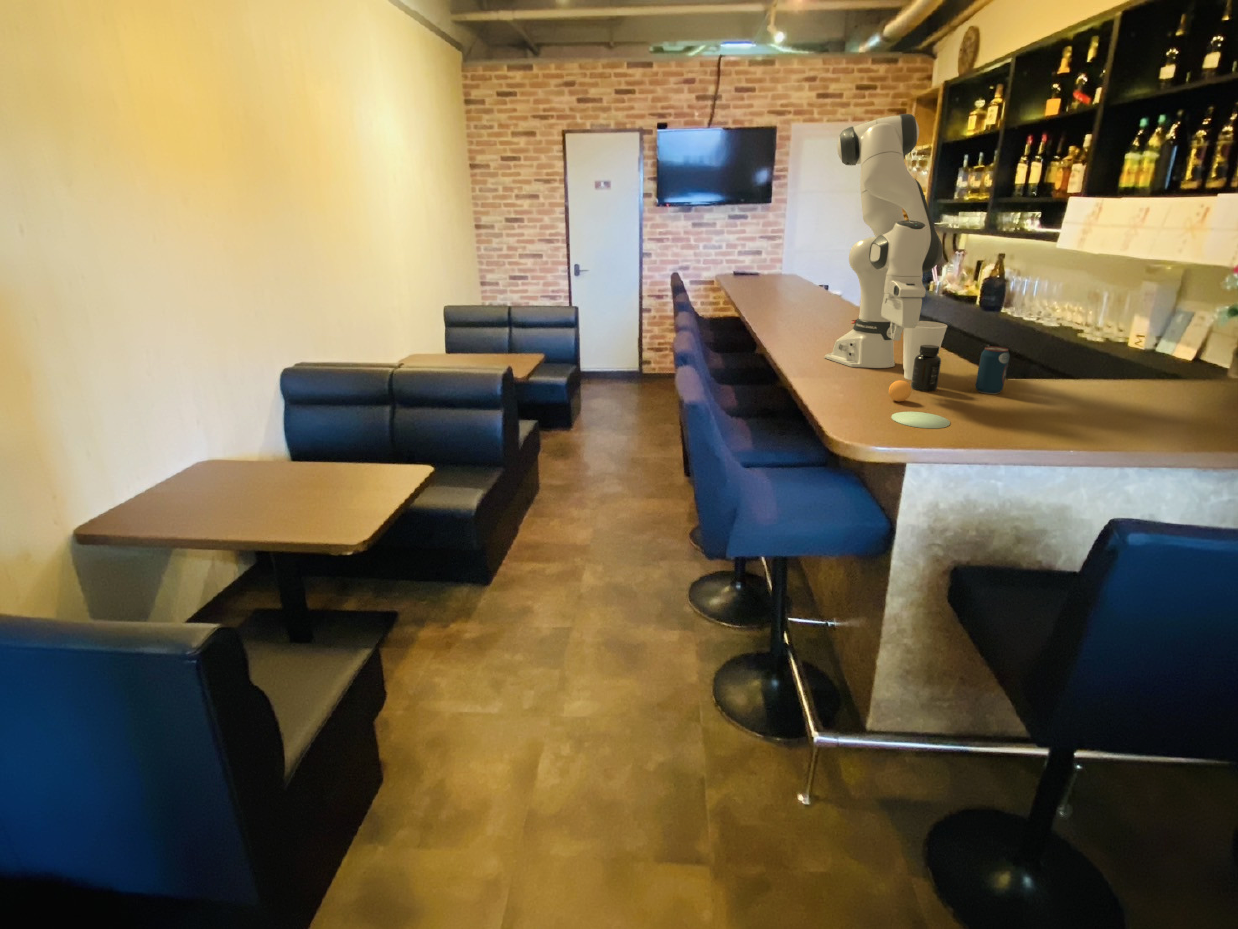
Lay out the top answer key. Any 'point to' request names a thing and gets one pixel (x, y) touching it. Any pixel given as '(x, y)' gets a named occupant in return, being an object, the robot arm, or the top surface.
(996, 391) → the soda can
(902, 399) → the ball
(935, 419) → the pale green disc
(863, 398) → the top surface
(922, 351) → the supplement bottle
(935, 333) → the cup
